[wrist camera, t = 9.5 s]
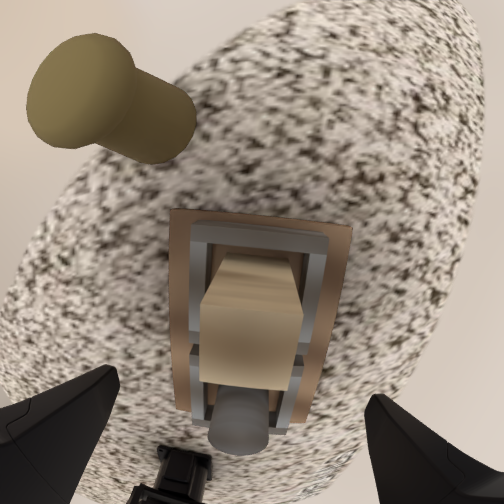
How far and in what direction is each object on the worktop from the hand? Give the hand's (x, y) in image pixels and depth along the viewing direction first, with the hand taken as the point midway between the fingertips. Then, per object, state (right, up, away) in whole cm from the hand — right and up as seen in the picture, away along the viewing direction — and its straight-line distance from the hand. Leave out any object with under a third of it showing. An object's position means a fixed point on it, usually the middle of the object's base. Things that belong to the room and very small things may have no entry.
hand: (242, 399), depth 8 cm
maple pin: (+1, +3, +11) cm, 11 cm away
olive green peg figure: (-6, +14, +9) cm, 18 cm away
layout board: (0, -1, +13) cm, 13 cm away
